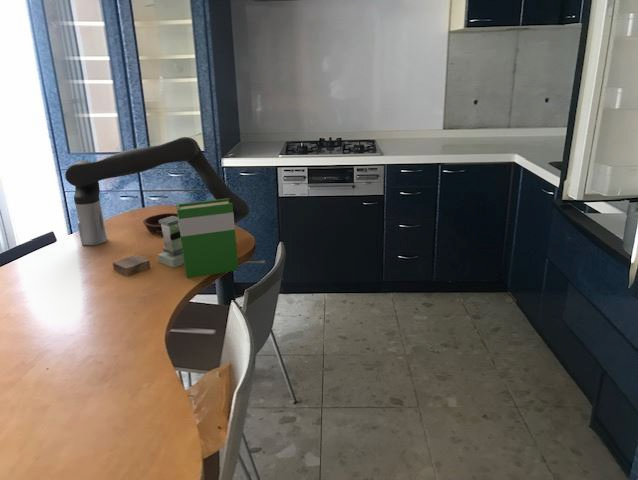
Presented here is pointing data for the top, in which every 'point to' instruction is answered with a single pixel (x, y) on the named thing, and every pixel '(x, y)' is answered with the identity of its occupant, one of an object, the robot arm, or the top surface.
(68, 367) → the top surface
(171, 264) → the green stand
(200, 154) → the robot arm
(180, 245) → the grey square pedestal
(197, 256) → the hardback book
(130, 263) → the walnut stand
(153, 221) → the dish
